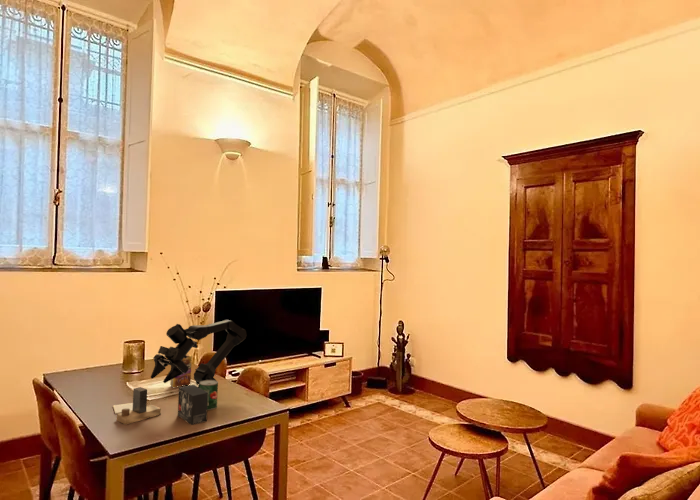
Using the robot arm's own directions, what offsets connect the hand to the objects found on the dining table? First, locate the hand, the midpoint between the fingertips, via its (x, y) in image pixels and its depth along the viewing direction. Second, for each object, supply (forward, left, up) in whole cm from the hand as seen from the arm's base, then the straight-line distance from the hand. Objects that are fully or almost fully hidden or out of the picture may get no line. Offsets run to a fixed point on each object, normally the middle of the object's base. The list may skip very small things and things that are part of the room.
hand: (157, 380), depth 193 cm
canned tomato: (-16, -13, -14) cm, 25 cm away
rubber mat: (+14, 0, -14) cm, 19 cm away
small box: (-17, +1, -14) cm, 22 cm away
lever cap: (+3, +7, -11) cm, 13 cm away
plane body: (+3, +7, -14) cm, 15 cm away
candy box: (+12, -35, -14) cm, 39 cm away
